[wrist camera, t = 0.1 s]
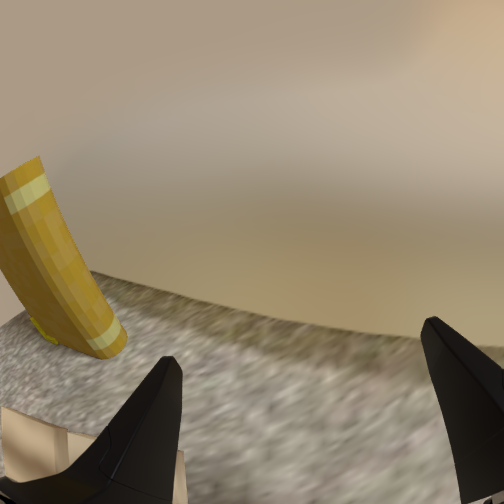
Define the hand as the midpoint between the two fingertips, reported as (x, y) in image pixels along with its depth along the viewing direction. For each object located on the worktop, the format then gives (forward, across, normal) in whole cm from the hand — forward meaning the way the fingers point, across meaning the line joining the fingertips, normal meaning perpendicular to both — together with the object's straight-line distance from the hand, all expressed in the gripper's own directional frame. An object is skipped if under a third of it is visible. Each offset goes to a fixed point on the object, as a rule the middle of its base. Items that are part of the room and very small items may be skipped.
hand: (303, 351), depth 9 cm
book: (+17, +30, +17) cm, 38 cm away
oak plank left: (-5, +26, +14) cm, 30 cm away
